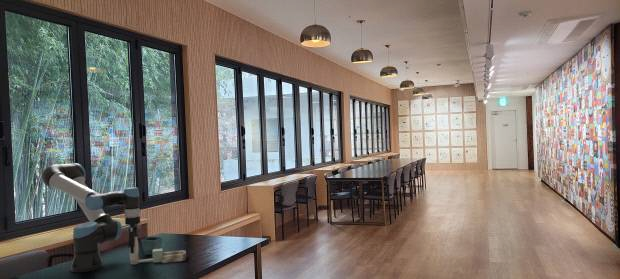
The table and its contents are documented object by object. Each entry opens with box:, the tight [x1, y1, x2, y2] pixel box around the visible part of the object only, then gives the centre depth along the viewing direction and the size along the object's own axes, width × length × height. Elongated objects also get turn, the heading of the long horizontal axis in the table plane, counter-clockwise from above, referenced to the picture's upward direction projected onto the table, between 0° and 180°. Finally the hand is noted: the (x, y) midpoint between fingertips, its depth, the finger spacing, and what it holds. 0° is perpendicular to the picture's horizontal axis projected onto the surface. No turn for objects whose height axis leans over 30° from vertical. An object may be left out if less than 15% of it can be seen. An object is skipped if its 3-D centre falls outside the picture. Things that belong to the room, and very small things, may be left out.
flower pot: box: [140, 236, 163, 256], centre depth 264 cm, size 9×9×9 cm
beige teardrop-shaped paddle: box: [129, 237, 164, 265], centre depth 245 cm, size 16×5×14 cm, turn 104°
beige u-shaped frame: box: [161, 249, 187, 264], centre depth 249 cm, size 12×9×4 cm
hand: (134, 256), depth 243 cm, fingers open, 13 cm apart
